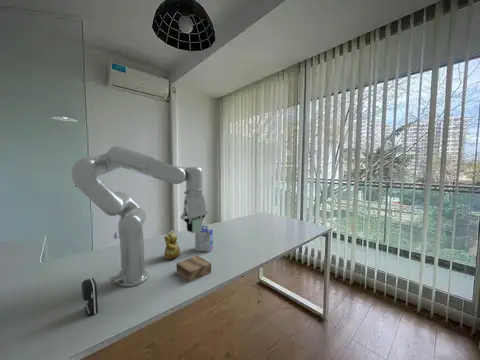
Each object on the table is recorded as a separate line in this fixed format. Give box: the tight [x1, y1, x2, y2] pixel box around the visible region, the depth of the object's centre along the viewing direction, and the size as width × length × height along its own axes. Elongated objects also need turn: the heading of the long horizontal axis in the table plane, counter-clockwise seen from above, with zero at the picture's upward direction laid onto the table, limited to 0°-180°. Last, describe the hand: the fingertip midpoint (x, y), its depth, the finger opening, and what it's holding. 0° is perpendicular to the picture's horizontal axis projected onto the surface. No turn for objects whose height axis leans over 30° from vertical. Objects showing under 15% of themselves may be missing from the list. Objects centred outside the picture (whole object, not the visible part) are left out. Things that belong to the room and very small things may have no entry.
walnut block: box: [176, 255, 212, 283], centre depth 106 cm, size 12×12×5 cm
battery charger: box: [80, 277, 99, 317], centre depth 78 cm, size 7×4×11 cm, turn 44°
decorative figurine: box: [163, 229, 181, 261], centre depth 122 cm, size 10×8×15 cm
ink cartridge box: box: [194, 225, 214, 253], centre depth 132 cm, size 10×6×14 cm, turn 78°
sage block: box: [186, 217, 203, 234], centre depth 105 cm, size 5×5×6 cm
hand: (194, 229), depth 105 cm, fingers closed on sage block, 4 cm apart
